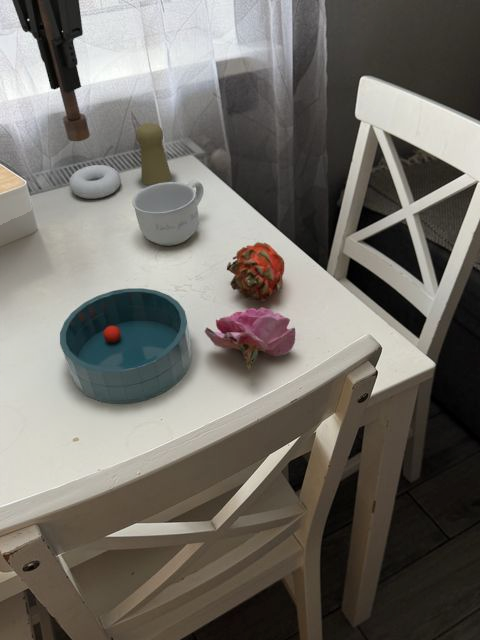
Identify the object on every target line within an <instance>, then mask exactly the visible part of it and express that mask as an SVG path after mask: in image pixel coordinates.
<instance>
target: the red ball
mask: <svg viewBox="0 0 480 640" xmlns="http://www.w3.org/2000/svg"><path fill="white" fill-rule="evenodd" d="M103 336H104V338H105V340H106V341H108V342H110V343H114V342H117V341H118V340H119V339H120V336H121V332H120V330H119V329H118V328H117V327H116V326H108V327H107V328H106V329H105V330H104V333H103Z"/></svg>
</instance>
